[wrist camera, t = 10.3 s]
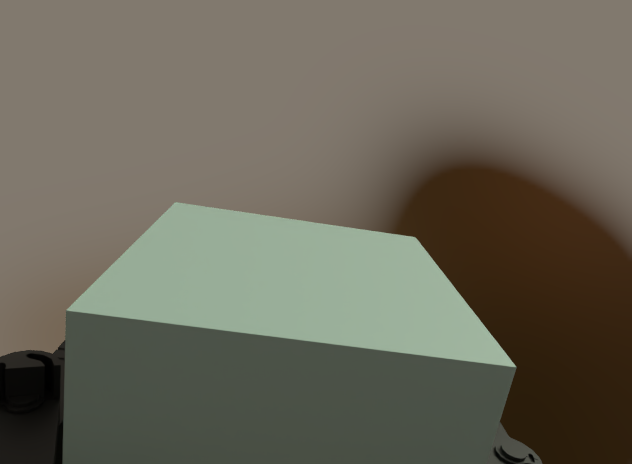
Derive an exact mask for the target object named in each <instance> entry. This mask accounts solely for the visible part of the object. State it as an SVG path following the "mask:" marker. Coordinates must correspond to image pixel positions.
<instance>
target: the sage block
mask: <svg viewBox="0 0 632 464" xmlns="http://www.w3.org/2000/svg"><path fill="white" fill-rule="evenodd" d="M65 337H66V338H65V378H64V419H63V461H62V464H486V463H487V460H488V457H489V454H490V450H491V447H492V444H493V441H494V438H495V434H496V431H497V428H498V425H499V421H500V418H501V415H502V412H503V408H504V405H505V402H506V399H507V396H508V392H509V389H510V386H511V383H512V380H513V377H514V373H515V370H516V366H515V365H514V364H513V362H512V361H511V360H510V359H509V357H508V356H507V355H506V353H505V352H504V351H503V349H502V348H501V347H500V346H499V344H498V343H497V342H496V340H495V339H494V338H493V337H492V335H491V334H490V333H489V331H488V330H487V329H486V328H485V326H484V325H483V324H482V322H481V321H480V320H479V319H478V317H477V316H476V315H475V313H474V312H473V311H472V310H471V309H470V307H469V306H468V304H467V303H466V302H465V301H464V299H463V298H462V297H461V296H460V294H459V293H458V292H457V290H456V289H455V288H454V286H453V285H452V284H451V283H450V281H449V280H448V279H447V277H446V276H445V275H444V274H443V272H442V271H441V270H440V269H439V267H438V266H437V265H436V263H435V262H434V261H433V259H432V258H431V257H430V256H429V254H428V253H427V252H426V251H425V249H424V248H423V247H422V245H421V244H420V243H419V241H418V240H417V239H416V238H415V237H409V236H402V235H395V234H388V233H382V232H374V231H368V230H361V229H354V228H348V227H341V226H334V225H327V224H320V223H313V222H306V221H300V220H293V219H286V218H279V217H272V216H266V215H259V214H251V213H245V212H238V211H231V210H225V209H217V208H211V207H203V206H197V205H190V204H184V203H177V202H175V203H174V204H173V205H172V206H171V207H170V208H169V209H168V210H167V211H166V212H165V213H164V214H163V215H162V216H161V217H160V218H159V219H158V220H157V221H156V222H155V223H154V224H153V225H152V226H151V227H150V228H149V229H148V230H147V231H146V232H145V233H144V234H143V235H142V236H141V237H140V238H139V239H138V240H137V241H136V242H135V243H134V244H133V245H132V246H131V247H130V248H129V249H128V250H127V251H126V252H125V253H124V254H123V255H122V256H121V257H120V258H119V259H118V260H117V261H116V262H115V263H114V264H113V265H112V266H111V267H110V268H109V269H108V270H107V271H105V272H104V273H103V274H102V276H100V277H99V278H98V279H97V280H96V281H95V282H94V283H93V284H92V285H91V286H90V287H89V288H88V289H87V290H86V291H85V292H84V293H83V294H82V295H81V296H80V297H79V298H78V299H77V300H76V301H75V302H74V303H73V304H72V305H71V306H70V307H69V308H68V309H67V310H66V336H65Z"/></svg>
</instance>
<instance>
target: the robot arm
mask: <svg viewBox="0 0 632 464" xmlns="http://www.w3.org/2000/svg"><path fill="white" fill-rule="evenodd" d="M64 378H65V341H64V342H63V343H62V344H61V345H60V346H59V347H58V350H56V351H55V352H54V353H53V354H52V353H48V352H44V351H34V350H33V351H32V350H26V351H20V352H14V353H10V354H7V355H5V356H1V357H0V464H62V461H63V419H64ZM486 464H542V462H541V460H540V458H539V457H538V456H537V455H536V454H535V453H534V451H533V450H531V449H530V448H529V447H527V446H526V445H524V444H523V443H521V442H518V441H516V440H514V439H512V438H509V436H508V435H507V433H506V431H505V430H504V428H503V426H502V425H501V423H500V421H499V425H498V428H497V431H496V434H495V438H494V441H493V444H492V447H491V450H490V454H489V457H488V460H487V463H486Z"/></svg>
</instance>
